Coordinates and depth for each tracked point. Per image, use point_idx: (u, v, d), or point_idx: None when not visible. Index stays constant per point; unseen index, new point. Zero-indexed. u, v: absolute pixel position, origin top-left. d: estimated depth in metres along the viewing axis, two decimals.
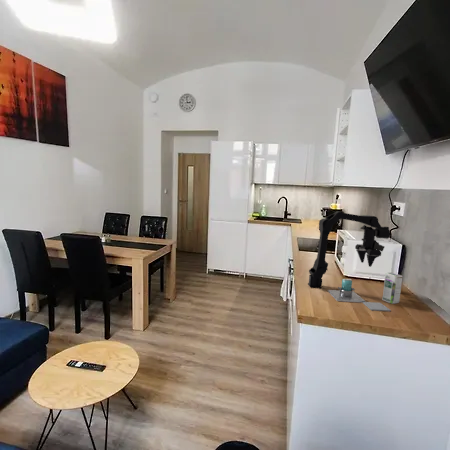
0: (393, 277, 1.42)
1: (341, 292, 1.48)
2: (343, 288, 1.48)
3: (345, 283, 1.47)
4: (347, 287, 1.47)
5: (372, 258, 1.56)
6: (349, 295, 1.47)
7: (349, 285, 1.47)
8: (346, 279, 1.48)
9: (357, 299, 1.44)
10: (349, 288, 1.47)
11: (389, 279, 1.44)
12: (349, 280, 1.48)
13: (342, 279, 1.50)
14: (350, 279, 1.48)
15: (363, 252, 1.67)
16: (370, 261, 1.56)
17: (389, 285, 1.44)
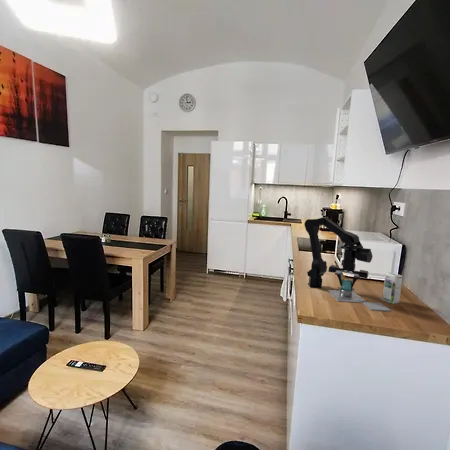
0: (393, 277, 1.42)
1: (341, 292, 1.48)
2: (343, 288, 1.48)
3: (345, 283, 1.47)
4: (347, 287, 1.47)
5: None
6: (349, 295, 1.47)
7: (349, 285, 1.47)
8: (346, 279, 1.48)
9: (357, 299, 1.44)
10: (349, 288, 1.47)
11: (389, 279, 1.44)
12: (349, 280, 1.48)
13: (342, 279, 1.50)
14: (350, 279, 1.48)
15: (341, 275, 1.50)
16: (354, 283, 1.46)
17: (389, 285, 1.44)
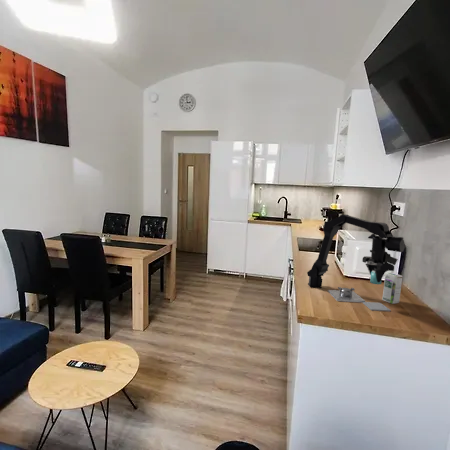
0: (393, 277, 1.42)
1: (341, 292, 1.48)
2: (370, 280, 1.38)
3: (371, 274, 1.37)
4: (372, 279, 1.36)
5: (381, 272, 1.33)
6: (349, 295, 1.47)
7: (374, 277, 1.36)
8: (374, 271, 1.37)
9: (357, 299, 1.44)
10: (374, 280, 1.36)
11: (389, 279, 1.44)
12: None
13: None
14: None
15: (374, 267, 1.40)
16: (379, 276, 1.33)
17: (389, 285, 1.44)
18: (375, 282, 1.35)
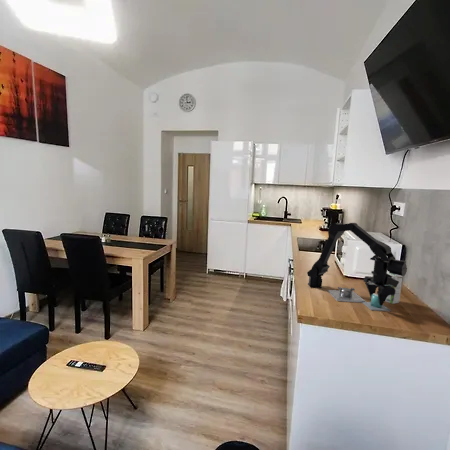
0: (393, 277, 1.42)
1: (341, 292, 1.48)
2: None
3: (371, 297, 1.37)
4: (372, 302, 1.37)
5: (384, 296, 1.31)
6: (349, 295, 1.47)
7: (374, 300, 1.36)
8: (375, 294, 1.37)
9: (357, 299, 1.44)
10: (374, 304, 1.36)
11: None
12: None
13: (374, 294, 1.39)
14: None
15: (373, 287, 1.41)
16: (381, 299, 1.32)
17: (389, 285, 1.44)
18: (376, 305, 1.35)
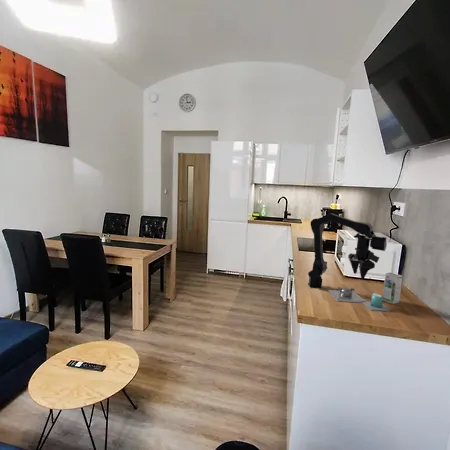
0: (393, 277, 1.42)
1: (341, 292, 1.48)
2: None
3: (371, 297, 1.37)
4: (372, 302, 1.37)
5: (365, 270, 1.42)
6: (349, 295, 1.47)
7: (374, 300, 1.36)
8: (375, 294, 1.37)
9: (357, 299, 1.44)
10: (374, 304, 1.36)
11: (389, 279, 1.44)
12: (378, 296, 1.36)
13: (374, 294, 1.39)
14: (380, 295, 1.35)
15: (356, 262, 1.53)
16: (363, 273, 1.43)
17: (389, 285, 1.44)
18: (376, 305, 1.35)
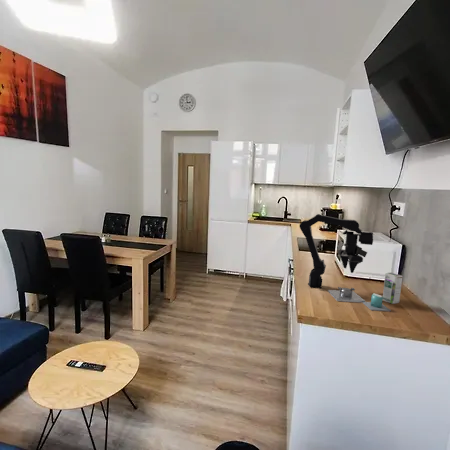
0: (393, 277, 1.42)
1: (341, 292, 1.48)
2: None
3: (371, 297, 1.37)
4: (372, 302, 1.37)
5: (354, 264, 1.51)
6: (349, 295, 1.47)
7: (374, 300, 1.36)
8: (375, 294, 1.37)
9: (357, 299, 1.44)
10: (374, 304, 1.36)
11: (389, 279, 1.44)
12: (378, 296, 1.36)
13: (374, 294, 1.39)
14: (380, 295, 1.35)
15: (346, 258, 1.61)
16: (352, 267, 1.51)
17: (389, 285, 1.44)
18: (376, 305, 1.35)
